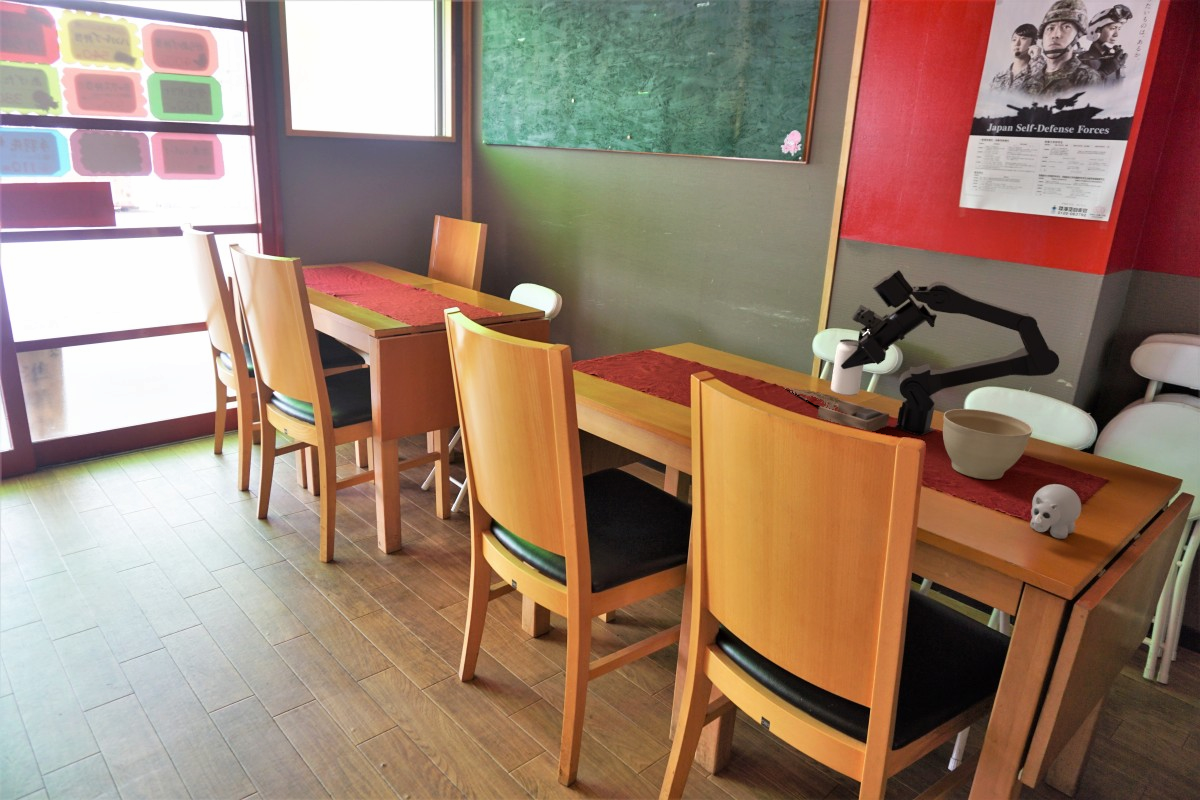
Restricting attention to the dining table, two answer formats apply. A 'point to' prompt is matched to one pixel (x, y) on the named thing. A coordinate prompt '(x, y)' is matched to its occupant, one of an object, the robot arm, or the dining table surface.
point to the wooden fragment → (819, 397)
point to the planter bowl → (984, 441)
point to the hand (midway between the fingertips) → (842, 363)
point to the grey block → (867, 414)
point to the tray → (853, 416)
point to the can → (846, 370)
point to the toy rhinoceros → (1055, 510)
